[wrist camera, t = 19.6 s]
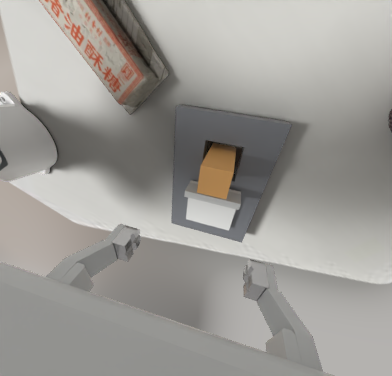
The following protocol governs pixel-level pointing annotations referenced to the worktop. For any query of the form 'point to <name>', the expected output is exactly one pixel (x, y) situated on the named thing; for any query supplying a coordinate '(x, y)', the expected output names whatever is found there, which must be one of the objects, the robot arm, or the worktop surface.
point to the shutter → (211, 207)
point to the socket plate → (247, 167)
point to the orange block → (217, 171)
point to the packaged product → (111, 46)
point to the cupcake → (390, 120)
